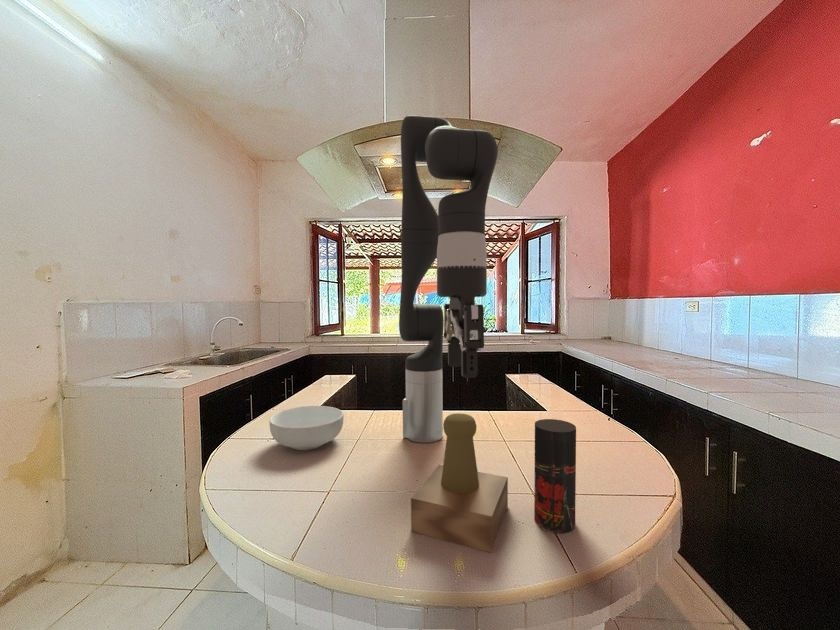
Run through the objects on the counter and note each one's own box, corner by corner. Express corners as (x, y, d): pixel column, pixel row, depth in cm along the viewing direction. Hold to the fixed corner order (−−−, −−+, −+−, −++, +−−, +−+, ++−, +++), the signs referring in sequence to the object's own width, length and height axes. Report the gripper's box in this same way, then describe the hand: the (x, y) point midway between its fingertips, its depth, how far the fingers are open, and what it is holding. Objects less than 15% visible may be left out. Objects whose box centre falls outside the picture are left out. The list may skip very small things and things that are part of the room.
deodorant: (528, 511, 60) (528, 419, 59) (563, 509, 60) (564, 418, 59) (543, 534, 54) (544, 433, 53) (583, 532, 54) (583, 431, 54)
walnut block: (411, 531, 55) (410, 498, 54) (439, 492, 66) (439, 464, 65) (491, 552, 50) (491, 516, 50) (507, 506, 61) (507, 477, 61)
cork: (484, 479, 60) (484, 412, 59) (471, 497, 55) (471, 423, 54) (450, 471, 63) (449, 407, 62) (434, 487, 57) (434, 418, 57)
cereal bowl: (286, 466, 77) (285, 432, 77) (260, 443, 89) (259, 414, 89) (357, 444, 88) (356, 415, 88) (324, 427, 101) (324, 401, 100)
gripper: (502, 261, 50) (501, 380, 50) (471, 269, 64) (471, 362, 64) (447, 260, 48) (448, 383, 49) (429, 269, 63) (429, 364, 63)
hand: (461, 371), depth 57 cm, fingers open, 8 cm apart
